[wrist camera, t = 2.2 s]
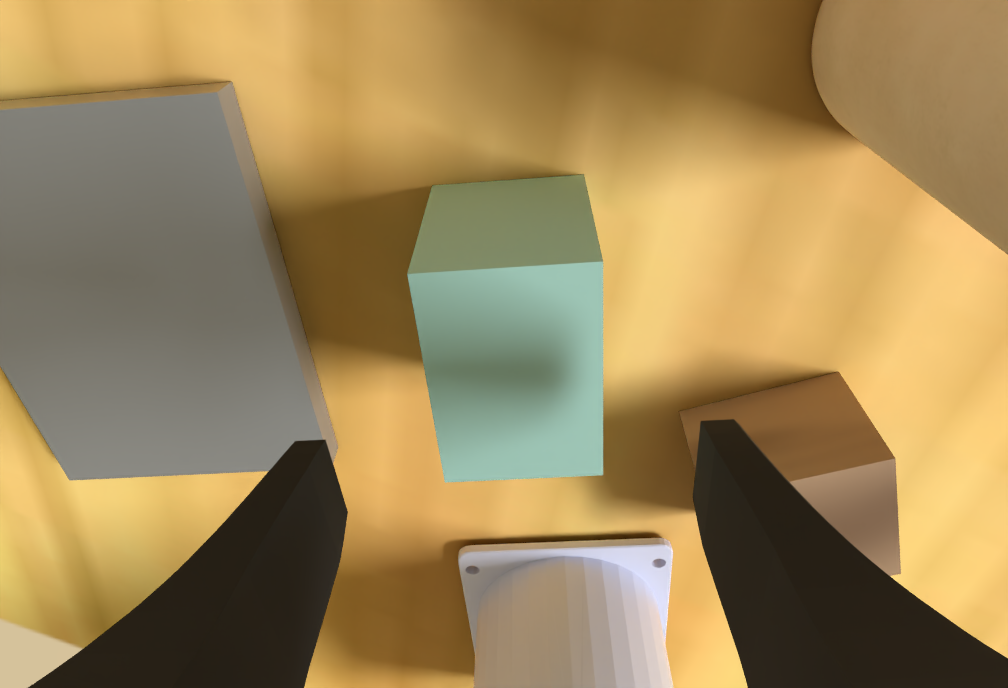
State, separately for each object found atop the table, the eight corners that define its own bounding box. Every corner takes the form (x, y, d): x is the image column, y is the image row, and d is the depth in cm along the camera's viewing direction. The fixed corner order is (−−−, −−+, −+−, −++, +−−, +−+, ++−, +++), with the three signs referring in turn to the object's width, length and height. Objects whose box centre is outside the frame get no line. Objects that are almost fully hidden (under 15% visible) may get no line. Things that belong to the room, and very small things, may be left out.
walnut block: (848, 478, 24) (900, 573, 21) (705, 509, 25) (733, 605, 22) (837, 368, 21) (895, 458, 18) (677, 408, 22) (705, 499, 19)
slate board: (338, 447, 23) (331, 467, 23) (85, 459, 24) (69, 480, 23) (232, 81, 17) (216, 92, 16) (-117, 110, 17) (-148, 121, 16)
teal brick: (586, 359, 21) (603, 475, 17) (459, 366, 22) (444, 482, 17) (583, 173, 18) (602, 261, 14) (432, 183, 18) (407, 273, 14)
